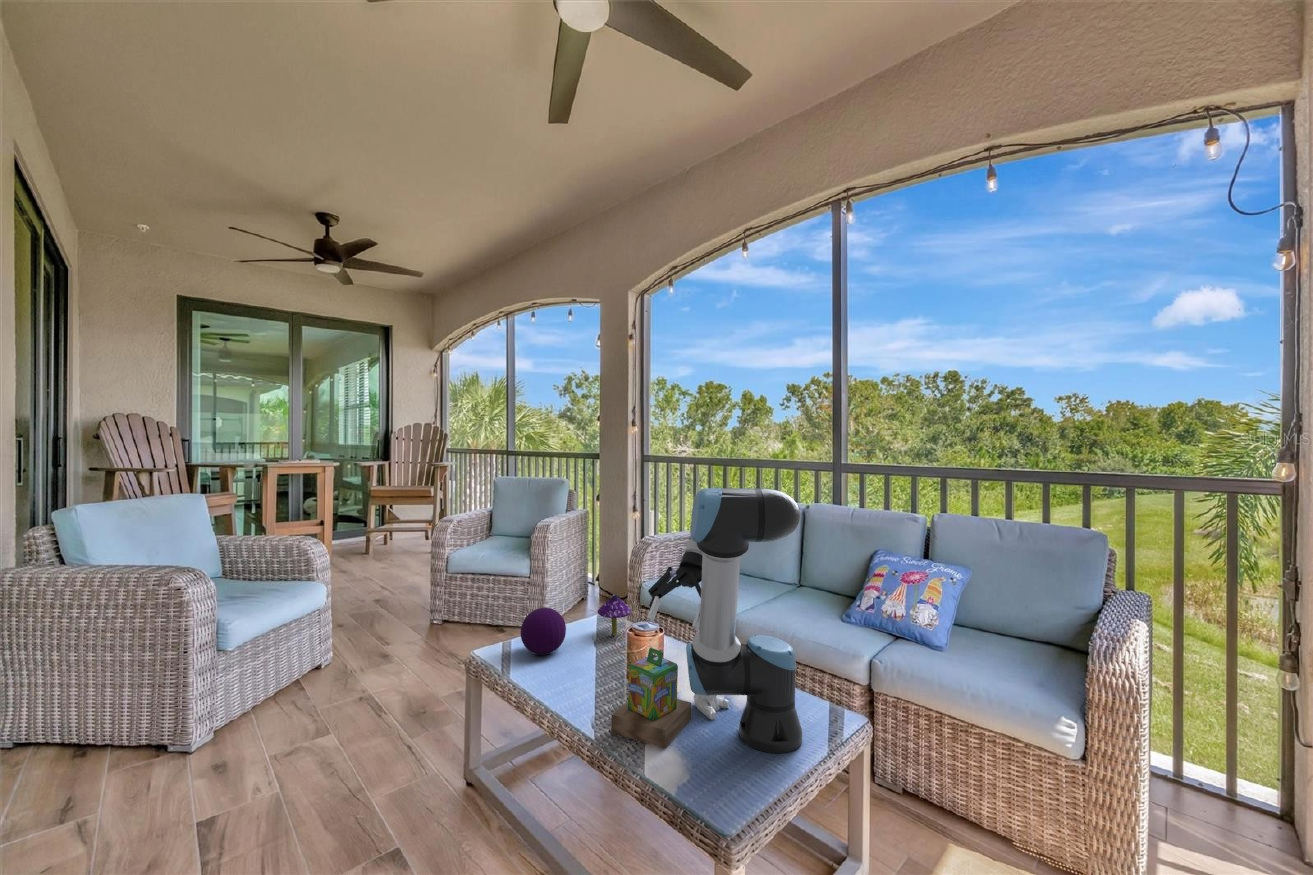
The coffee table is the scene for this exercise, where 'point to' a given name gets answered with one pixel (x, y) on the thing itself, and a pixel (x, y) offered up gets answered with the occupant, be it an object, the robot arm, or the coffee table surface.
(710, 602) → the robot arm
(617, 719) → the walnut block
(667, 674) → the chalk box
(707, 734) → the coffee table surface
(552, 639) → the toy ball
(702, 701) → the white creature statuette
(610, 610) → the decorative mushroom
